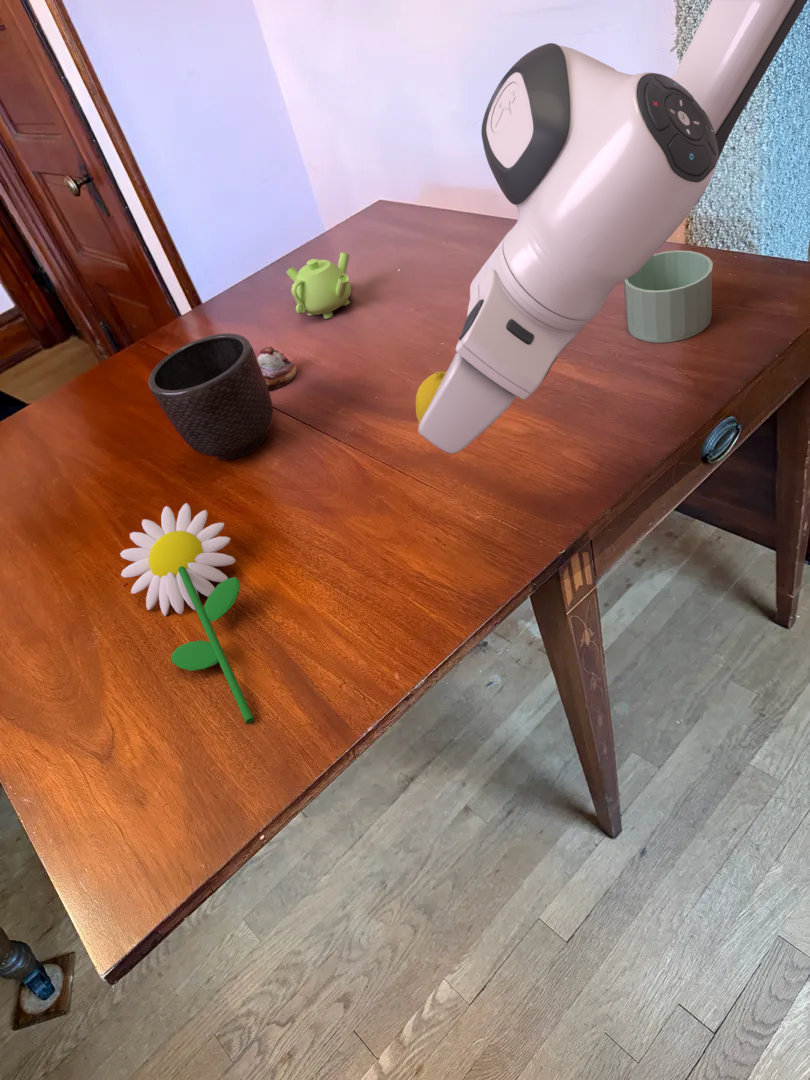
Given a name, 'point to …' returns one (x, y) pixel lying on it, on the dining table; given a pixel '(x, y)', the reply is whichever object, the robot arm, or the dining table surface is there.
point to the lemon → (427, 393)
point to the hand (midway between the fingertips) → (439, 407)
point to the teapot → (321, 286)
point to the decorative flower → (187, 583)
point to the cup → (669, 297)
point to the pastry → (275, 368)
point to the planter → (215, 395)
